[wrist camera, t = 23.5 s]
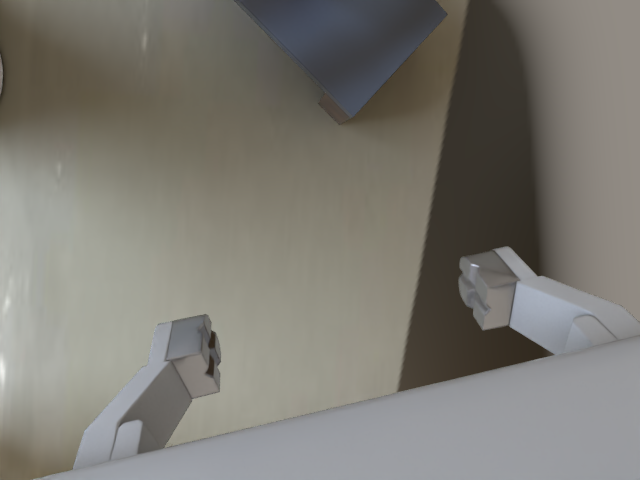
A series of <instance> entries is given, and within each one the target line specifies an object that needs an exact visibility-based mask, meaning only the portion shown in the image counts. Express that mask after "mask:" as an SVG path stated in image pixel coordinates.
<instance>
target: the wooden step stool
mask: <svg viewBox="0 0 640 480" xmlns="http://www.w3.org/2000/svg"><path fill="white" fill-rule="evenodd" d="M234 1H235V2H236V3H237V4H238V5H239V6H240V7H241V8H242V9H243V10H244V11H245V12H246V13H247V14H248V15H249V16H250V17H251V18H252V19H253V20H254V21H255V22H256V23H257V24H258V25H259V26H260V27H261V28H262V29H263V30H264V31H265V32H266V33H267V34H268V35H269V36H270V37H271V38H272V39H273V40H274V41H275V42H276V44H277V45H278V46H279V47H280V48H281V49H282V50H283V51H284V52H285V53H286V54H287V55H288V56H289V57H290V58H291V59H292V60H293V61H294V62H295V63H296V64H297V65H298V66H299V67H300V68H301V69H302V70H303V71H304V72H305V73H306V74H307V75H308V76H309V77H310V78H311V79H312V80H313V81H314V82H315V83H316V84H317V85H318V86H319V87H320V88H321V89H322V90H323V91H324V92H325V94H324V95H323V97H322V98H321V100H320V101H319V102H318V104H319V105H320V106H321V107H322V108H323V109H324V110H325V111H326V112H327V113H328V114H329V115H330V116H331V117H332V118H333V119H334V120H335V121H336V122H337V123H338V124H339V125H340V124H342V123H343V122H345V121H347V120H348V119H350V118H352V117H354V116H355V115H356V114H357V112H358V111H359V110H360V109H361V108H362V107H363V106H364V105H365V104H366V103H367V102H368V101H369V99H370V98H371V97H372V96H373V95H374V94H375V93H376V92H377V91H378V90H379V89H380V88H381V86H382V85H383V84H384V83H385V82H386V81H387V80H388V79H389V78H390V77H391V76H392V75H393V73H394V72H395V71H396V70H397V69H398V68H399V67H400V66H401V65H402V64H403V63H404V61H405V60H406V59H407V58H408V57H409V56H410V55H411V54H412V53H413V52H414V51H415V50H416V48H417V47H418V46H419V45H420V44H421V43H422V42H423V41H424V40H425V39H426V38H427V37H428V35H429V34H430V33H431V32H432V31H433V30H434V29H435V28H436V27H437V26H438V25H439V23H440V22H441V21H442V20H443V19H444V18H445V17H446V16H447V13H446V12H445V11H444V10H443V8H442V7H441V6H440V5H439V4H438V3H437V1H436V0H234Z"/></svg>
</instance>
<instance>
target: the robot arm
mask: <svg viewBox="0 0 640 480" xmlns="http://www.w3.org/2000/svg"><path fill="white" fill-rule="evenodd" d="M2 84H3V67H2V60H1V55H0V95H1V91H2ZM459 267H460V269H461V270H462V271H463V273H462V274H461V276H460V277H459V290H460V294H461V296H462V299H463V301H464V302H465V304H466V306H468V307H470V308H472V309H473V316H474V318H475V319H476V321H477V322H478V324H479V325H480V327H481V328H482V330H489V329H493V328H498V327H503V326H507V325H509V326H510V327H511V328H513V329H515V330H516V331H518V332H519V333H521V334H523V335H524V336H526V337H528V338H529V339H531V340H532V341H534V342H536V343H537V344H539V345H541V346H542V347H544V348H546V349H547V350H549V351H550V352H552V353H554V354H555V355H553V356H549V357H545V358H541V359H537V360H532V361H528V362H524V363H520V364H516V365H511V366H507V367H503V368H499V369H494V370H490V371H487V372H483V373H478V374H474V375H469V376H465V377H461V378H457V379H452V380H448V381H444V382H440V383H435V384H431V385H427V386H423V387H419V388H414V389H410V390H406V391H402V392H398V393H393V394H389V395H385V396H381V397H377V398H372V399H368V400H364V401H360V402H356V403H351V404H347V405H343V406H339V407H335V408H330V409H326V410H322V411H318V412H314V413H309V414H305V415H301V416H297V417H293V418H288V419H284V420H280V421H276V422H272V423H267V424H263V425H259V426H255V427H251V428H246V429H242V430H238V431H234V432H230V433H225V434H221V435H217V436H213V437H209V438H204V439H200V440H196V441H192V442H188V443H183V444H179V445H175V446H171V447H167V448H164V447H165V445H166V443H167V442H168V440H169V438H170V437H171V435H172V434H173V432H174V430H175V429H176V427H177V425H178V424H179V422H180V420H181V419H182V417H183V415H184V414H185V412H186V410H187V409H188V407H189V405H190V404H191V402H192V399H194V398H198V397H202V396H206V395H210V394H213V393H217V392H220V372H219V369H218V367H217V366H218V365H219V364H220V362H221V351H220V344H219V340H218V337H217V335H216V332H214V331H212V330H211V321H210V318H209V316H208V315H207V314H204V315H199V316H194V317H189V318H184V319H179V320H174V321H170V322H165V323H160V324H158V325H157V326H156V328H155V332H154V337H153V341H152V346H151V350H150V355H149V360H148V364H147V366H144V367H142V368H141V369H140V370H139V371H138V372H137V373H136V374H135V376H134V377H133V378H132V379H131V380H130V381H129V382H128V383H127V384H126V386H125V387H124V388H123V389H122V390H121V391H120V392H119V393H118V394H117V395H116V397H115V398H114V399H113V400H112V401H111V402H110V403H109V404H108V405H107V407H106V408H105V409H104V410H103V411H102V412H101V413H100V414H99V415H98V416H97V418H96V419H95V420H94V421H93V422H92V423H91V424H90V425H89V426H88V428H87V429H86V430H85V431H84V435H83V438H82V441H81V444H80V447H79V450H78V453H77V456H76V460H75V463H74V466H73V469H72V470H70V471H66V472H62V473H57V474H53V475H49V476H45V477H41V478H36V479H32V480H640V322H639V321H638V320H637V319H636V318H635V317H634V316H633V315H631V314H630V313H629V312H628V311H627V310H626V309H625V308H624V307H623V306H621V305H619V304H616V303H613V302H611V301H608V300H605V299H603V298H600V297H597V296H595V295H592V294H590V293H587V292H584V291H581V290H579V289H576V288H573V287H571V286H568V285H565V284H563V283H560V282H558V281H555V280H552V279H550V278H547V277H544V276H539V277H538V276H537V275H536V274H535V273H534V272H533V271H532V270H531V269H530V268H529V267H528V266H527V265H526V264H525V263H524V262H523V261H522V259H521V258H519V256H518V255H517V254H516V253H515V252H514V251H513V250H512V249H511V248H510V247H507V246H506V247H502V248H497V249H494V250H491V251H486V252H481V253H477V254H473V255H469V256H464V257H461V259H460V265H459Z"/></svg>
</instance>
